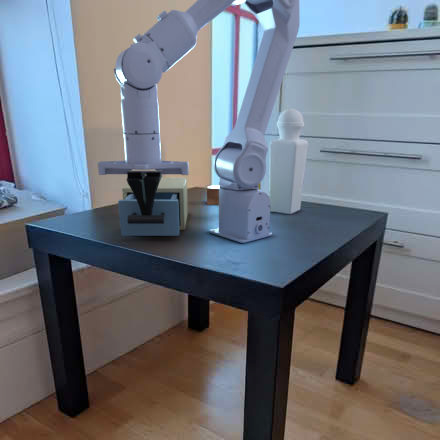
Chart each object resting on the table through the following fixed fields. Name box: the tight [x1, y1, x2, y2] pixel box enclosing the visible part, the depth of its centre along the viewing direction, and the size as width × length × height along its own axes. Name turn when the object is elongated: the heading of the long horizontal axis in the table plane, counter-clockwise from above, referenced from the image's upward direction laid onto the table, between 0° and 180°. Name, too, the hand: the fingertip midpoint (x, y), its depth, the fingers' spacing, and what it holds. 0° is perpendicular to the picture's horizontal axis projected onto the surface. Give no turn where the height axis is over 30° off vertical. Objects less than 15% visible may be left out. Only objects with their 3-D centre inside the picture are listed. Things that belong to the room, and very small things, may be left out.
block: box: [206, 185, 219, 206], centre depth 105 cm, size 4×4×4 cm
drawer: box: [117, 193, 180, 237], centre depth 78 cm, size 17×10×6 cm, turn 2°
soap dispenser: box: [268, 108, 309, 215], centre depth 94 cm, size 6×6×22 cm
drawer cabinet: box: [121, 176, 189, 231], centre depth 87 cm, size 14×12×8 cm
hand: (147, 217), depth 72 cm, fingers closed, pressing on drawer
